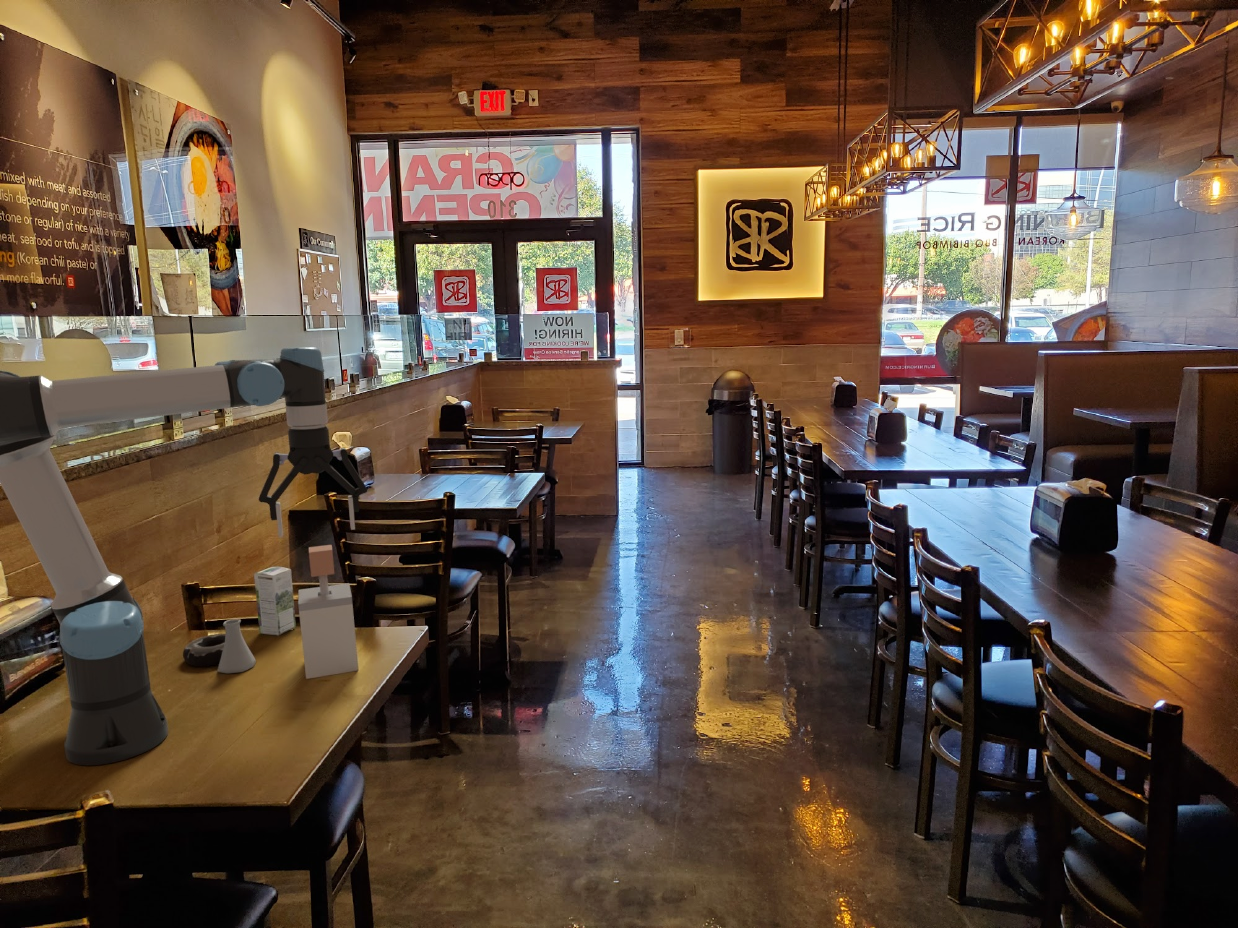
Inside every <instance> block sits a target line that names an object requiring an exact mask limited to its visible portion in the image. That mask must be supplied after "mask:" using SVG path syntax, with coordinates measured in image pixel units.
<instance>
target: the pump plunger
mask: <svg viewBox="0 0 1238 928" xmlns="http://www.w3.org/2000/svg"><path fill="white" fill-rule="evenodd" d="M333 554H334V553H333V546H332V544H327V545H325V544H324V545H318V546H317V545H316V546H310V547H308V557H309V567H310V568H309V569H310V576H311V578H314V577H318V581H319V587H320V593H321V596H322V595H329V589H328V586H329V580H328V576H330V575H335V574H336V573H335V564H334V555H333Z"/></svg>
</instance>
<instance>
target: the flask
mask: <svg viewBox="0 0 1238 928" xmlns="http://www.w3.org/2000/svg"><path fill="white" fill-rule="evenodd" d="M241 622H242V620H241V619H238V618H234V619H233V618H232V619H228V620H226V621H224V622H223V624H222V625H223V627H224V628H225V634H226V636H225V644H224V648H223V652H222V656H221V660H220V663H219V665H218V667H217V673H223V674H233V673H235V674H236V673H243V672H245V671H247V670H249V669H251V668H254V667H255V665H256V662H257V661H256V659H255V656H254V655H253V653H252V651H251V649H250V648H249V647H248V645H247V642H246V641H245V639H244V637H243V634H242V631H241V626H240V624H241Z"/></svg>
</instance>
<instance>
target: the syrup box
mask: <svg viewBox="0 0 1238 928" xmlns="http://www.w3.org/2000/svg"><path fill="white" fill-rule="evenodd" d="M253 575H254V576H253V578H254V588H255V600H256V608H257V619H258V620H257V621H258V628H259V633H260V634H262V635H263V634H264V635H271V636H281V635H282V634H285V633H287V632H288V631H291V630H293V629H295V628H297V627H296V626H297V624H296V614H295V612H296V611H295V603H294V601H295V600H294V589H293V580H292V579H293V577H292V569H291V568H287V567H284V566H283V567H282V566H271V567H268V568H266V569H263V570H261V571H260V570H259V571H258V572H255V573H254V574H253Z"/></svg>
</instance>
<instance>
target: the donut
mask: <svg viewBox="0 0 1238 928" xmlns="http://www.w3.org/2000/svg"><path fill="white" fill-rule="evenodd" d="M225 636H226V633H214V634H209V635H208V634H207V635H204V636H202V637H198V638H196V639H194V640H192V641H191V642H189V643H188V644H187V645H185V646H184V649H183V651H182V657H183V659H184V661H185V663H186V664H188V665H190V666H194V667H213V666H217V665H218V666H219V663H220V660H221V656H222V652H223V648H224V644H225Z"/></svg>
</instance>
